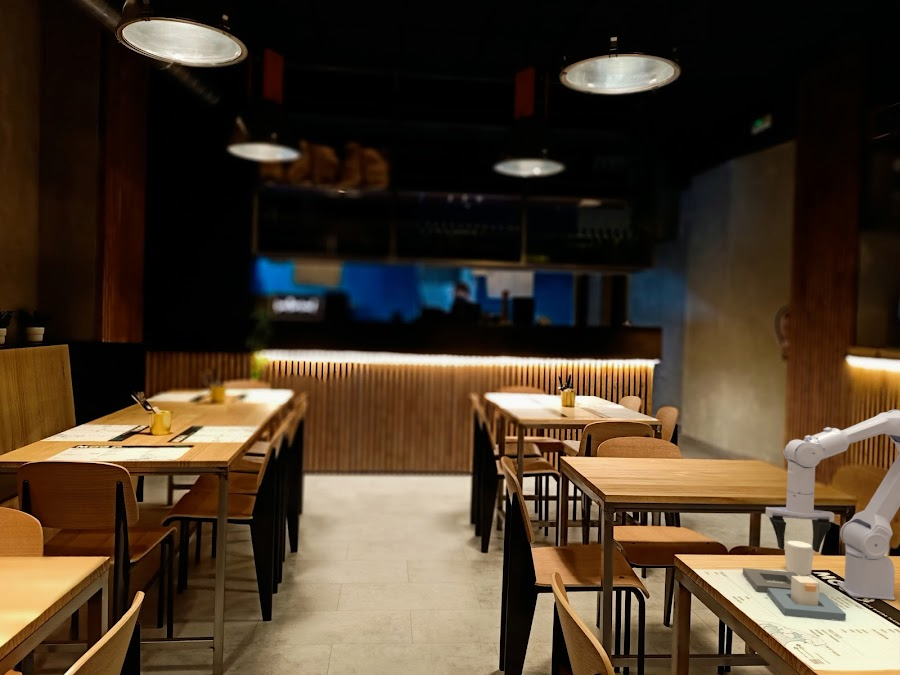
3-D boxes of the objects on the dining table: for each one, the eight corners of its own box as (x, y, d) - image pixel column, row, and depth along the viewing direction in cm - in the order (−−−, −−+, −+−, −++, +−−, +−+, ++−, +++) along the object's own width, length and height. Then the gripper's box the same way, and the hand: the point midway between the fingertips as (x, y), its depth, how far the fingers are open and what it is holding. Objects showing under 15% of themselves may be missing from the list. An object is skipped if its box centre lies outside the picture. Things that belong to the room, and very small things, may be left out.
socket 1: (794, 578, 167) (794, 572, 167) (812, 596, 155) (812, 590, 155) (742, 573, 169) (742, 567, 169) (756, 591, 157) (756, 585, 157)
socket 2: (823, 599, 154) (823, 592, 154) (845, 621, 142) (845, 613, 142) (767, 594, 156) (767, 587, 156) (784, 615, 144) (784, 608, 144)
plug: (808, 603, 151) (809, 576, 151) (819, 612, 146) (820, 584, 146) (790, 602, 151) (791, 575, 151) (801, 611, 146) (802, 583, 146)
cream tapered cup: (806, 567, 175) (807, 540, 175) (818, 576, 169) (819, 548, 168) (779, 565, 176) (780, 538, 176) (789, 575, 169) (790, 547, 169)
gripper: (826, 490, 162) (824, 546, 162) (762, 485, 164) (760, 541, 164) (839, 496, 155) (836, 556, 155) (771, 492, 157) (769, 550, 157)
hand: (798, 549), depth 159 cm, fingers open, 7 cm apart
